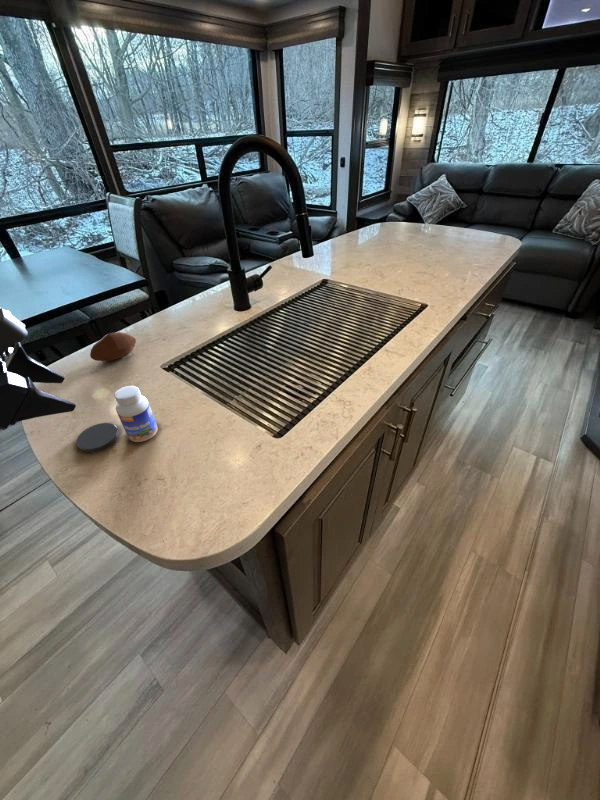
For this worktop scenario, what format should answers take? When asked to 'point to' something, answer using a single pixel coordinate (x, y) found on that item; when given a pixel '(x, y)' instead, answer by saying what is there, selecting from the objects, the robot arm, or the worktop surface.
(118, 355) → the potato
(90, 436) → the coaster
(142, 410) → the pill bottle
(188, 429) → the worktop surface
